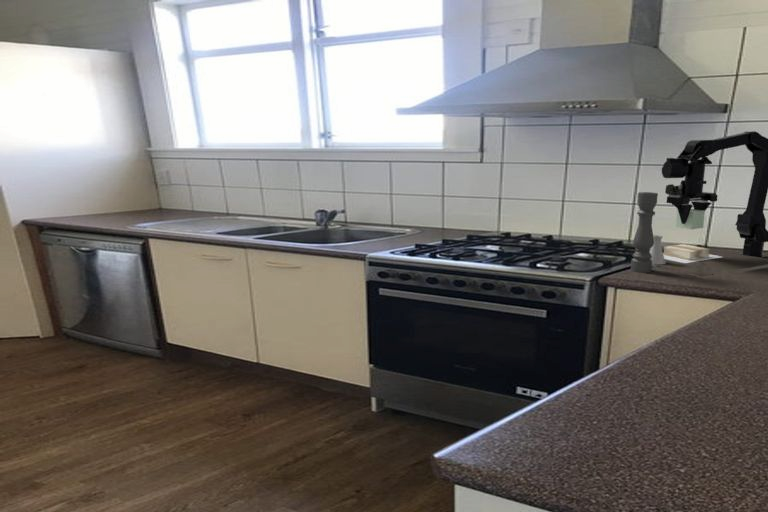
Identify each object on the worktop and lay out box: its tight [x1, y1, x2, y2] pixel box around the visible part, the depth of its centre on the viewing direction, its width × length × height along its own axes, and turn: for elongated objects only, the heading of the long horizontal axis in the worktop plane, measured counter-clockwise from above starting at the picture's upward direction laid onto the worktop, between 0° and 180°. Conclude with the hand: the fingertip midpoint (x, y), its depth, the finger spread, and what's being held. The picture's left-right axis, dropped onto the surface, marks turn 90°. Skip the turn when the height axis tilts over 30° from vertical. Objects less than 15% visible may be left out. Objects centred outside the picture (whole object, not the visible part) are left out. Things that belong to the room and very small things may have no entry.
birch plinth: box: [663, 243, 711, 260], centre depth 193 cm, size 10×10×3 cm
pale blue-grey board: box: [663, 252, 722, 264], centre depth 193 cm, size 20×14×1 cm
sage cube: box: [675, 208, 706, 230], centre depth 190 cm, size 6×6×6 cm
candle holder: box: [630, 191, 659, 273], centre depth 176 cm, size 6×6×25 cm
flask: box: [649, 234, 667, 268], centre depth 184 cm, size 7×7×10 cm
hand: (689, 223), depth 190 cm, fingers closed on sage cube, 6 cm apart
